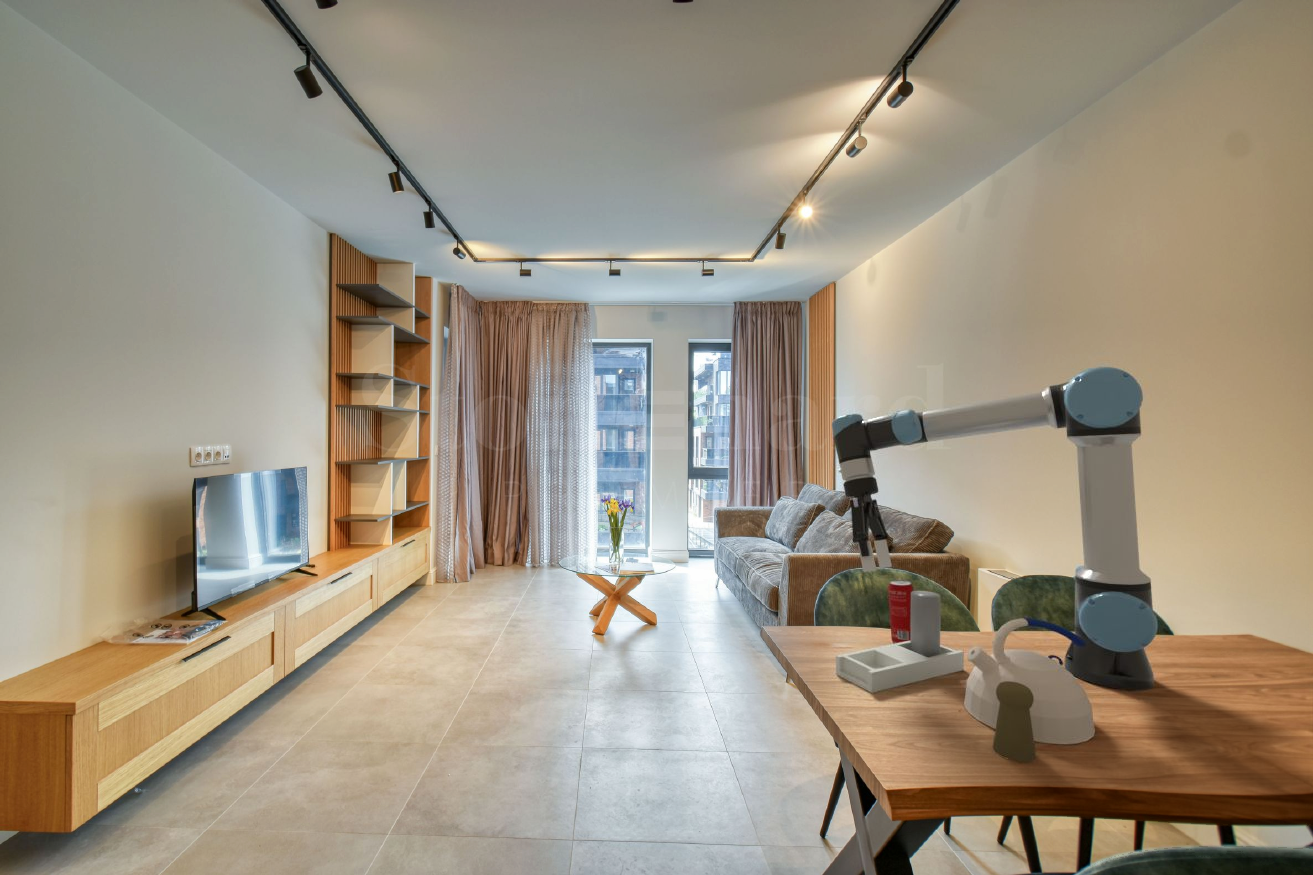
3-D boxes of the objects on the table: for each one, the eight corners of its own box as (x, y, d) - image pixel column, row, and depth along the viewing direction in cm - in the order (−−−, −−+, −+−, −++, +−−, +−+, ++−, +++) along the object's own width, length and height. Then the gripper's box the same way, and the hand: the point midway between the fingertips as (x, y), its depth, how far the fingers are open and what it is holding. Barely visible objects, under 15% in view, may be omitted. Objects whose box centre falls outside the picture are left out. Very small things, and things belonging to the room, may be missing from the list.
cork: (984, 742, 98) (984, 677, 98) (1018, 741, 99) (1019, 676, 99) (1009, 763, 92) (1009, 693, 92) (1045, 761, 93) (1046, 692, 93)
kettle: (943, 690, 118) (944, 601, 118) (1050, 693, 117) (1051, 603, 117) (996, 743, 98) (997, 635, 98) (1125, 748, 97) (1126, 639, 97)
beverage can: (920, 646, 142) (921, 585, 142) (893, 646, 142) (894, 584, 142) (910, 638, 148) (910, 578, 148) (884, 638, 148) (884, 578, 148)
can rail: (925, 654, 138) (925, 586, 137) (963, 669, 129) (964, 596, 128) (836, 674, 126) (836, 599, 126) (871, 692, 117) (872, 612, 117)
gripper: (858, 484, 152) (876, 567, 148) (826, 479, 132) (845, 575, 127) (888, 479, 148) (907, 564, 144) (859, 472, 128) (880, 571, 123)
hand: (878, 569), depth 135 cm, fingers open, 13 cm apart
